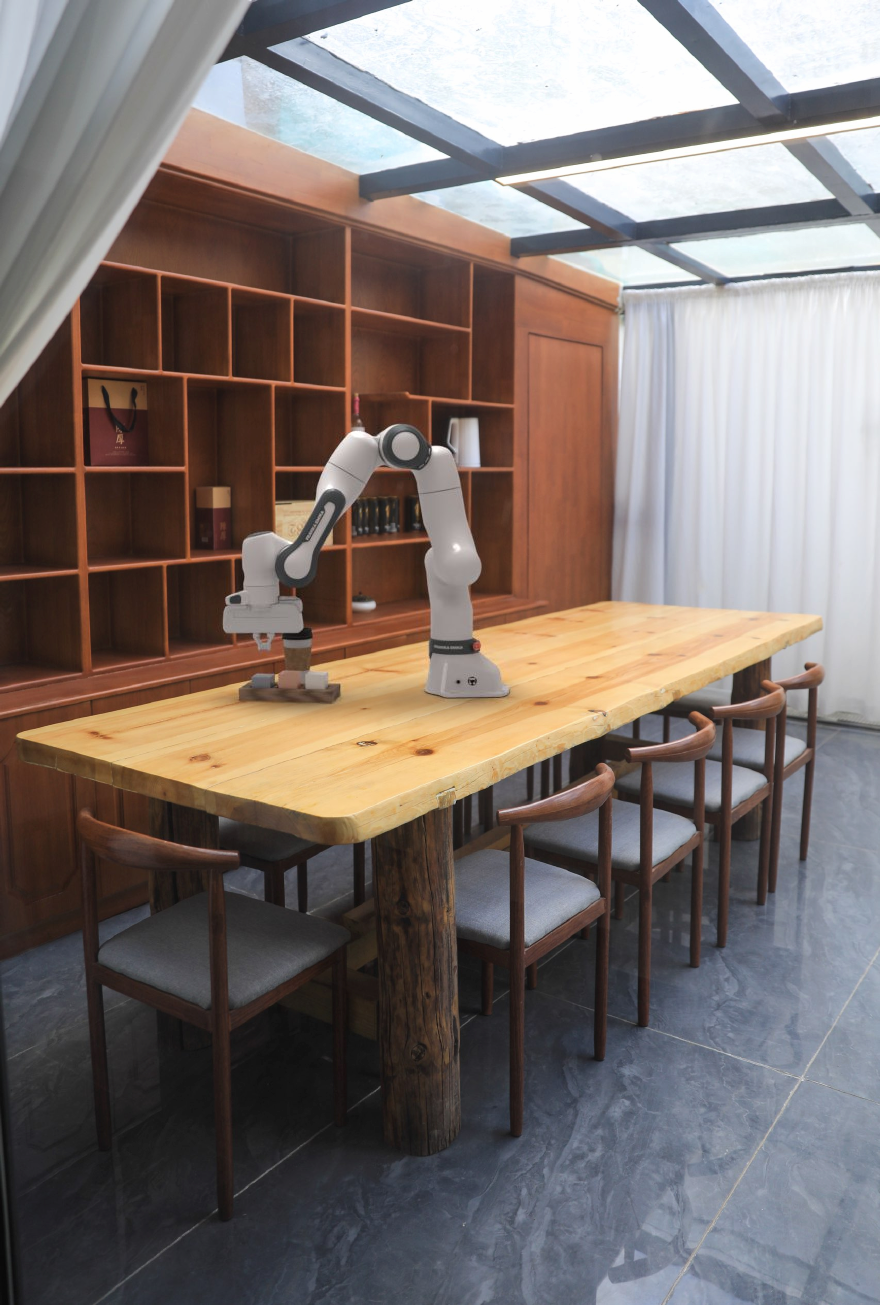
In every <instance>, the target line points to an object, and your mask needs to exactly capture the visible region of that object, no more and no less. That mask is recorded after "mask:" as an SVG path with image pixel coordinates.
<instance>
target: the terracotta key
mask: <svg viewBox="0 0 880 1305" xmlns="http://www.w3.org/2000/svg"><path fill="white" fill-rule="evenodd" d="M277 677H278V678H277V679H278V680H277V682H278V687H279V688H282V689H299V688H300V687H301V686H302V675H301V671H286V669H285V670H282V671H281V672H279V673H278V674H277Z"/></svg>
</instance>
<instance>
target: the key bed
mask: <svg viewBox="0 0 880 1305" xmlns="http://www.w3.org/2000/svg"><path fill="white" fill-rule="evenodd" d="M340 696H341V683H336V682H333V683H330V682H328V688H327V689H326V690H320V689H306V685H305V683H302V686H301V687H300V688H299V689H282V688H279V687H278V681H275V686H274V687H273V688H252V682H251V680H250V681H248V682H247V683H246V684H244V685H242V686H241V687H239V688H238V701H242V702H243V701H244V702H272V703H273V702H274V703H275V702H277V703H278V702H279V703H309V704H312V703H313V704H315V703H316V704H333V703H334V702H335V701H336V700H338V698H339V697H340Z"/></svg>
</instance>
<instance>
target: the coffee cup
mask: <svg viewBox="0 0 880 1305" xmlns="http://www.w3.org/2000/svg"><path fill="white" fill-rule="evenodd" d="M313 636H314V635H313V631H312V628H311V627H303V629H302V630H301V631H300V632H299V633H281V637H282V638H281V639H282V640H283V646H282V648H283V656H284V662H285V671H301V675H302V683H305V674H307V673H308V672H309V671H311V670H310V669H311V659H312V646H313V645H312V639H313V638H314V637H313Z"/></svg>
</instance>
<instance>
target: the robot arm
mask: <svg viewBox="0 0 880 1305" xmlns="http://www.w3.org/2000/svg"><path fill="white" fill-rule="evenodd" d="M381 466H382V467H384V468H385V467H386V468H388V469H394V470H397V471H398V470H400V471H401V470H409V471H411V473H413V475H414V478H415V481H416V486H417V492H418V498H419V504H420V510H421V516H422V522H423V526H424V528H425V530H426V533H427V536H428V539H429V542H430V545H431V547H430V548H429V549H428V550H427V552H426V553H425V556H424V567H425V572H426V580H427V591H428V596H429V603H430V607H429V608H430V637H429V640H428V658H429V666H428V673H427V678H426V683H425V686H424V692H426V693H429V694H432V695H436V696H437V695H438V696H441V697H443V698H497V697H498V698H499V697H500V698H501V697H504V696H507V695H509V694H510V692H509V691H510V686H509V684H506V683H503V682H502V676H501V671H500V668H499V666H498V665H496V663H494V662H493V661H491V660H490V659H489V658H488V657H487V656H485V655H484V654H483V653H482V652H480V651H481V647H482V644H481V641H480V639H476V638H474V636H473V631H474V630H473V629H474V628H473V627H474V625H473V624H474V623H473V622H474V621H473V620H474V608H473V604H472V601H471V596H470V592H469V591H470V590H469V586H471V585H472V584H474V583H475V582H476V581H477V580H478V579H479V577H480V575H481V572H482V561H481V558H480V557H479V555H478V552H477V549H476V545H475V541H474V538H473V534H472V532H471V529H470V524H469V522H468V519H467V514H466V508H465V503H464V497H463V490H462V485H461V480H460V475H459V472H458V467H457V463H456V461H455V459H454V456H453V453H452V451H450V449H448V448H447V447H444V446H441V445H431V444H430V443H429V441H428V440H427V439H426V438H425V436H424V435H423V434H422V433H421V431H420V430H419V429H417V428H416V427H415V426H412V425H410V424H405V423H397V424H392V425H390V426H388V427H387V428H386V429H384V430H382V431H380V432H379V433H377V434H376V435H371V434H369V433H367V432H365V431H360V430H353V431H351V432H349V433H347V435H346V436H345V437H344V438H343V440H342V441H341V442H340V443H339V444H338V446H337V447H336V448H335V450H334V452H333V453H332V454H331V456H330V458H329V459H328V461H327V463H326V464H325V466H324V468H323V470H322V473H321V475H320V477H319V481H318V482H317V486H316V495H315V501H314V505H313V508H312V511H311V513H310V515H309V517H308V518H307V520H306V522H305V523H304V526H303V527H302V529H301V531H300V532H299V534H298V536H297V538H296V539H295V541H294V542H293V541H290V540H288V539H285V538H283V537H281V536H279V535H278V534H276V533H274V532H273V531H271V530H265V531H258V532H255V533H251V534H248V535H247V536H246V538H245V539H244V540H243V542H242V548H241V549H242V550H241V562H242V563H241V565H242V571H243V574H244V580H243V590H239V591H236V592H235V593H231V594H229V595H228V596H226V597H225V599H224V600H225V604H226V606H225V608H224V610H223V613H222V614H223V615H222V627H223V628H222V629H223V631H224V632H225V633H226V634H252V638H253V639H254V641H255V643H256V645H257V650H258V651H271V650H272V645H271V644H272V642H273V640H274V639H275V636H276V634H283V633H299V632H300V631H301V630H302V629H303V628H304V619H303V614H302V612H303V608H304V607H303V606H304V605H303V602H302V599H301V598H299V597H297V596H296V595H292V596H286V595H280V582H281V583H282V584H283V585H284V586H286V587H289V588H293V589H300V588H303V587H306V586H307V585H309V584H310V583H312V581H313V580H314V578H315V577H316V575H317V571H318V562H319V561H318V560H319V555H320V552H321V550H322V548H323V546H324V544H325V543H326V541H327V539H328V537H329V536H330V534H331V532H332V530H333V528H334V526H335V525H336V524H337V522H338V521H339V519H340V518H341V517H342V516H343V515H344V513H346V512H347V510H348V509H349V508H350V507H351V506H352V505H353V504H354V503H355V501H356V500H357V499H358V498H359V496H360V495H361V494H362V492H363V491H364V489H365V487H366V485H367V484H368V481H369V480H370V478H371V476H372V474H373V473H374V472H375V471H376V470H377V469H378V468H379V467H381ZM261 634H266V637H267V638H268V640H267V642H263V641H262V640H261V638H260V637H261Z"/></svg>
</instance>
